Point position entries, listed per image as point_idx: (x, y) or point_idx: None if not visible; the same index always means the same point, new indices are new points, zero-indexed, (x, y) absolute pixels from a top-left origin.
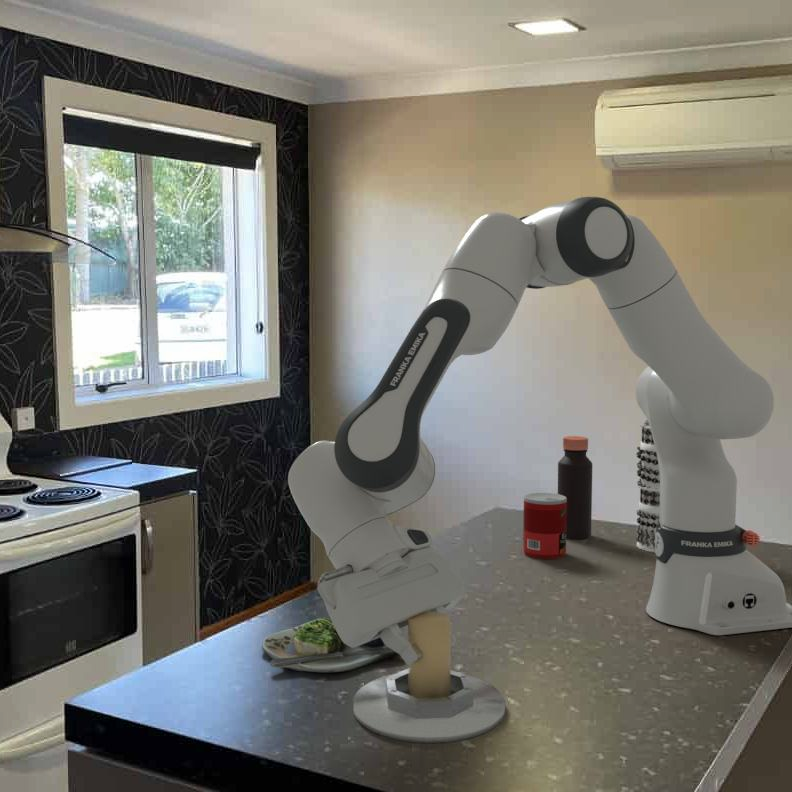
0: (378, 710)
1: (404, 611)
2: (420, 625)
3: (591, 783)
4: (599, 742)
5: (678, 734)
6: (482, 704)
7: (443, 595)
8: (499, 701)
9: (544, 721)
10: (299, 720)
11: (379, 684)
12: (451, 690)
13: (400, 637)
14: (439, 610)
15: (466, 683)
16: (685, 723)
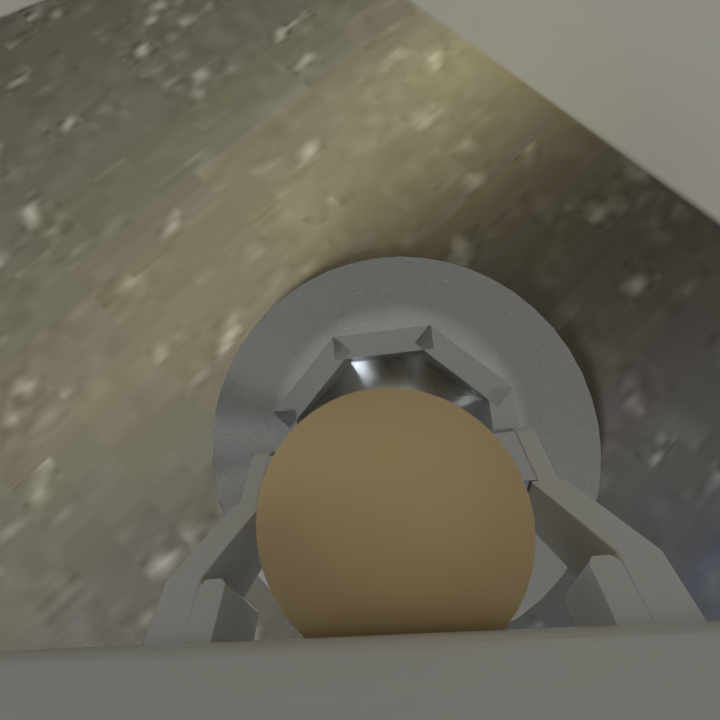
0: None
1: (569, 689)
2: (521, 480)
3: (402, 4)
4: (261, 96)
5: (135, 33)
6: (319, 333)
7: (66, 713)
8: (277, 318)
9: (261, 222)
10: None
11: None
12: None
13: (608, 528)
14: (197, 619)
15: (316, 377)
16: (88, 52)
